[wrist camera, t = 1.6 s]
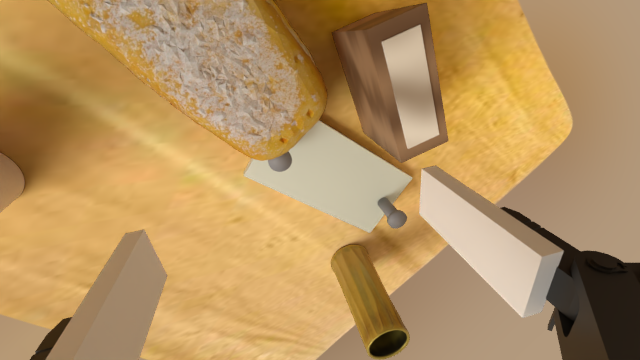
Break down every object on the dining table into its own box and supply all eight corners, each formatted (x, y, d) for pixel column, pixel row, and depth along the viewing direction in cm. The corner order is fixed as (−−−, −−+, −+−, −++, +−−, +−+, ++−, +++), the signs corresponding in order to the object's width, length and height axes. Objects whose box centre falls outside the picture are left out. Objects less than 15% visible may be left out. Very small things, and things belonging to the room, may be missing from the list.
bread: (263, 164, 34) (267, 195, 27) (0, -37, 22) (-113, -72, 15) (341, 79, 32) (368, 90, 25) (96, -195, 20) (15, -321, 13)
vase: (324, 270, 44) (354, 360, 32) (341, 239, 42) (380, 323, 30) (356, 277, 47) (396, 363, 34) (374, 248, 45) (423, 329, 32)
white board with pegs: (285, 99, 32) (292, 110, 27) (408, 174, 40) (431, 193, 35) (243, 171, 34) (243, 194, 29) (366, 228, 43) (382, 253, 38)
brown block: (331, 32, 30) (367, 29, 21) (374, 13, 30) (428, 2, 21) (363, 132, 36) (402, 163, 27) (399, 116, 36) (449, 141, 27)
